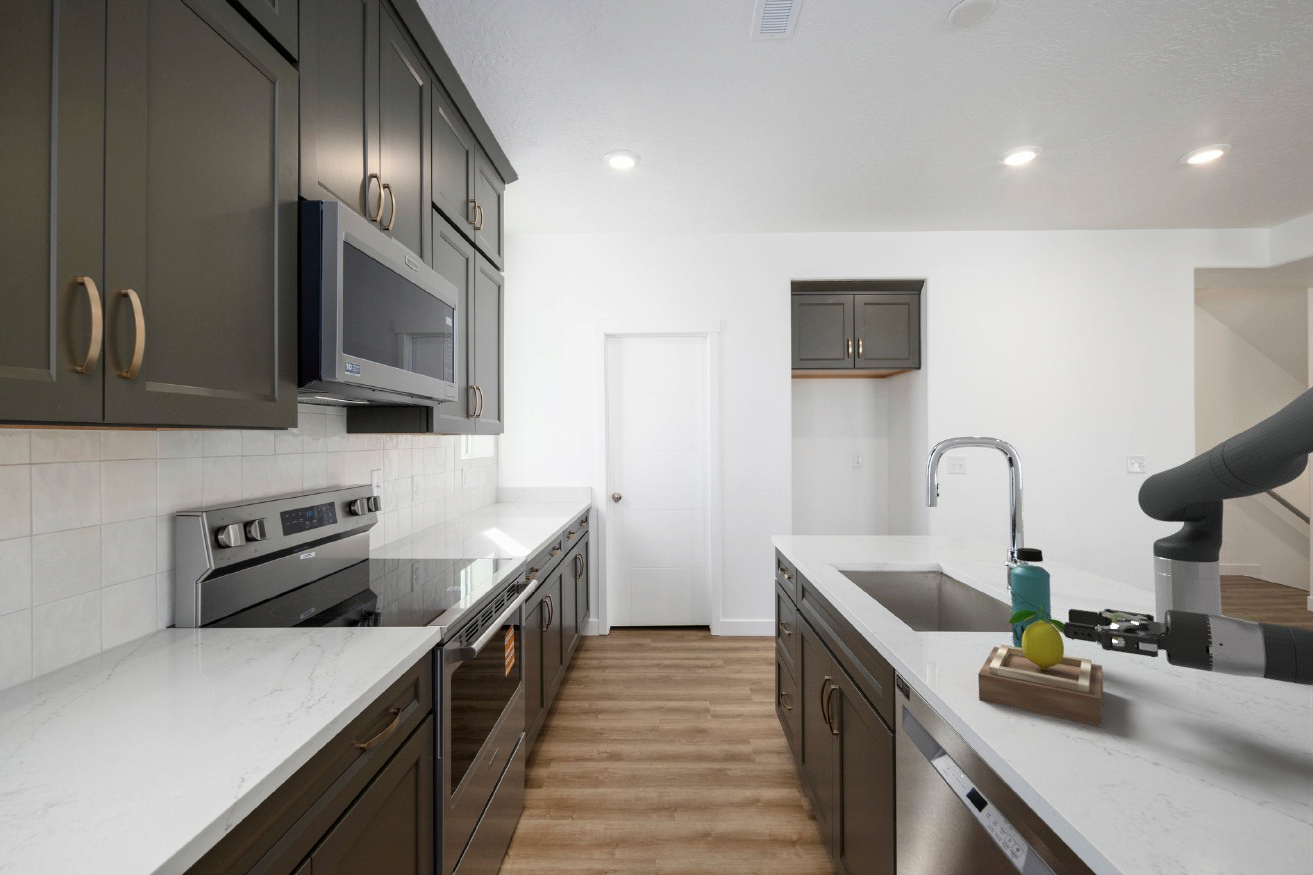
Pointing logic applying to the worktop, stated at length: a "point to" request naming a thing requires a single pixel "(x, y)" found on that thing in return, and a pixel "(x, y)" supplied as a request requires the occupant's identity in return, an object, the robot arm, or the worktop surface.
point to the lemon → (1041, 639)
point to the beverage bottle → (1029, 591)
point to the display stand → (1043, 685)
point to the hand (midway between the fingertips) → (1066, 622)
